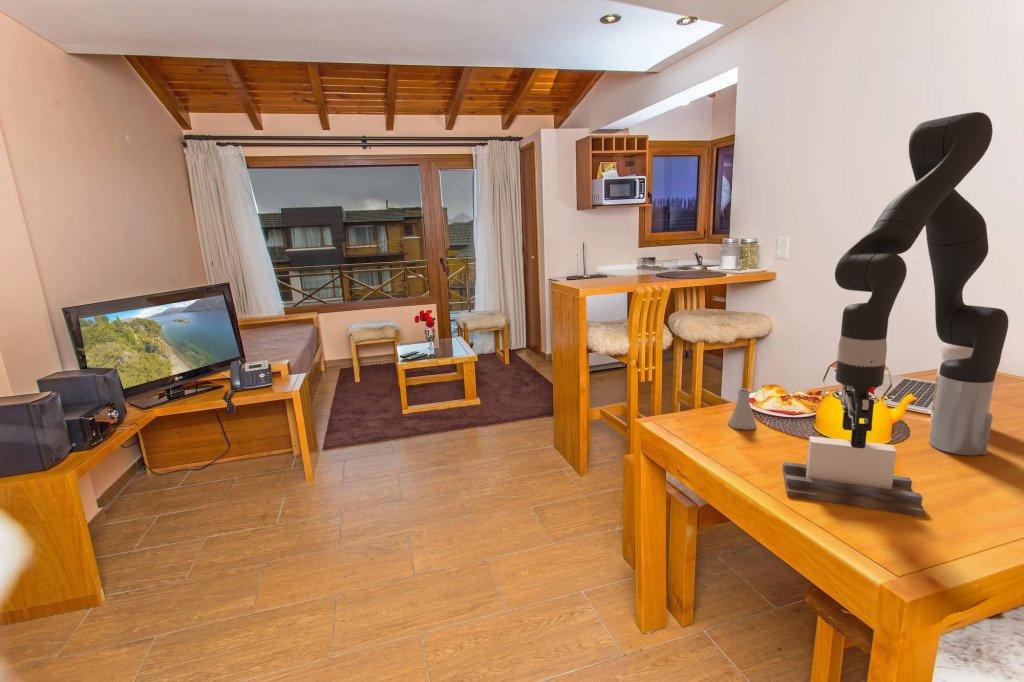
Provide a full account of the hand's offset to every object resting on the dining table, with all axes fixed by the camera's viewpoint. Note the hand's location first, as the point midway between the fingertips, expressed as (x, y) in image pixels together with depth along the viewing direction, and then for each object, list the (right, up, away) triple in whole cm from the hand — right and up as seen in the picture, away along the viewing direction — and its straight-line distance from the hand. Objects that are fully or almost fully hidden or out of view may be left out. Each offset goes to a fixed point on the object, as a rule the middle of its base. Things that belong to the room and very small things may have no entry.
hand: (852, 438), depth 97 cm
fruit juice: (+47, -2, +31) cm, 56 cm away
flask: (-5, -4, +36) cm, 37 cm away
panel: (0, -10, +2) cm, 10 cm away
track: (0, -11, +3) cm, 11 cm away
